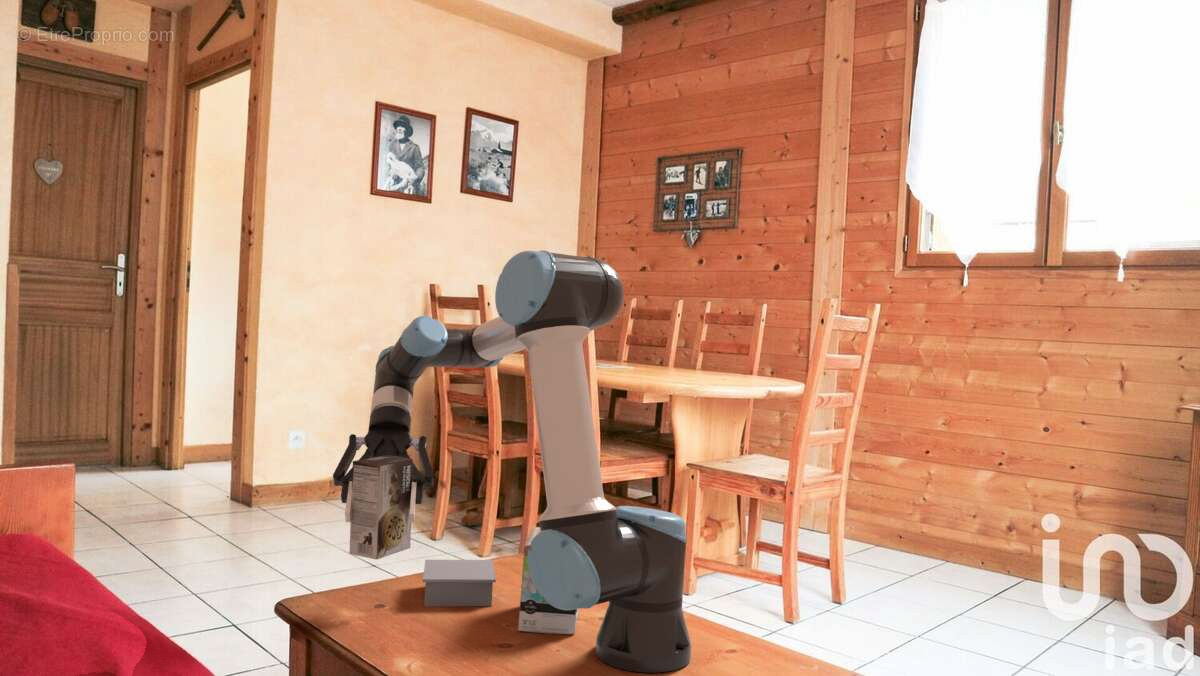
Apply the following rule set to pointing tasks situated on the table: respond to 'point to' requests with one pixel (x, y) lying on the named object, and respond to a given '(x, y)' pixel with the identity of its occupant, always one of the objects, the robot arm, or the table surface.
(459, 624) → the table surface
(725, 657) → the table surface
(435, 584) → the grey plinth
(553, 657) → the table surface
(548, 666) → the table surface
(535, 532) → the tea box
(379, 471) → the coffee box
